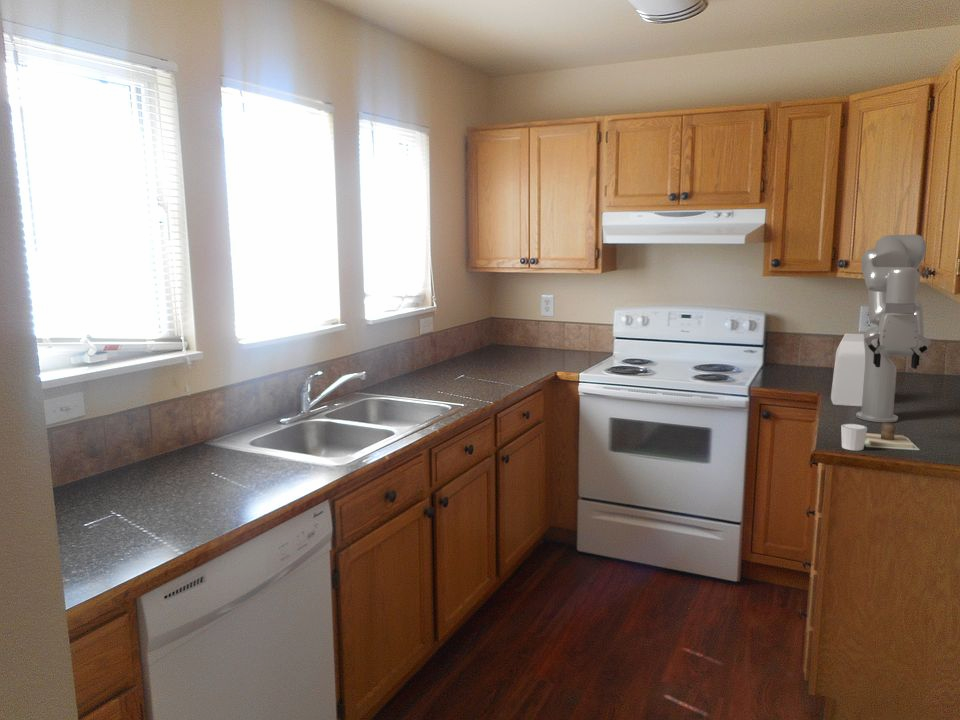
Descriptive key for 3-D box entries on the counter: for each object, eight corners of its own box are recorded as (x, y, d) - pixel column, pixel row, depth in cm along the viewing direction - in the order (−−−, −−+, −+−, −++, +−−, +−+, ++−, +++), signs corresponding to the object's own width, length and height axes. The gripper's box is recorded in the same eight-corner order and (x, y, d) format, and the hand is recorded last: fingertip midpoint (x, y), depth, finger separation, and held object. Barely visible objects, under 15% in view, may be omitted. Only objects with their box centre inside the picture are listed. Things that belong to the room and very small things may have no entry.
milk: (833, 404, 267) (837, 335, 262) (830, 398, 277) (835, 331, 273) (869, 406, 262) (874, 336, 258) (865, 400, 273) (870, 332, 269)
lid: (862, 436, 222) (864, 418, 221) (902, 438, 218) (904, 420, 218) (870, 445, 211) (872, 427, 210) (912, 448, 208) (914, 429, 207)
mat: (856, 436, 224) (856, 434, 224) (907, 439, 220) (907, 437, 219) (866, 448, 210) (866, 446, 210) (920, 451, 206) (920, 450, 206)
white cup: (842, 444, 214) (844, 422, 213) (868, 448, 210) (869, 425, 209) (836, 450, 209) (838, 426, 208) (862, 454, 205) (864, 430, 204)
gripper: (929, 309, 211) (924, 367, 213) (864, 308, 216) (860, 364, 218) (937, 311, 204) (932, 370, 206) (870, 309, 209) (866, 367, 211)
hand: (895, 367), depth 212 cm, fingers open, 9 cm apart
